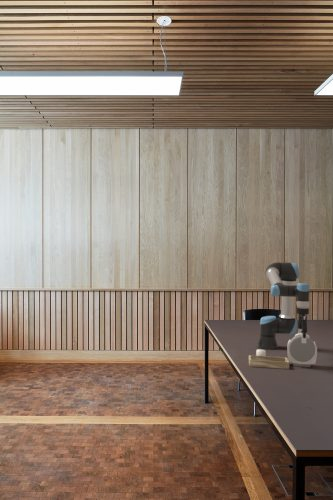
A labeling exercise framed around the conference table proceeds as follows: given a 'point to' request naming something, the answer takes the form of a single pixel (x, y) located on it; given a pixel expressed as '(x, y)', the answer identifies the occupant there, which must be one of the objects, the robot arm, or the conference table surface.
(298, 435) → the conference table surface
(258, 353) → the white rounded cylinder
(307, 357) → the alarm clock
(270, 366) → the tray
